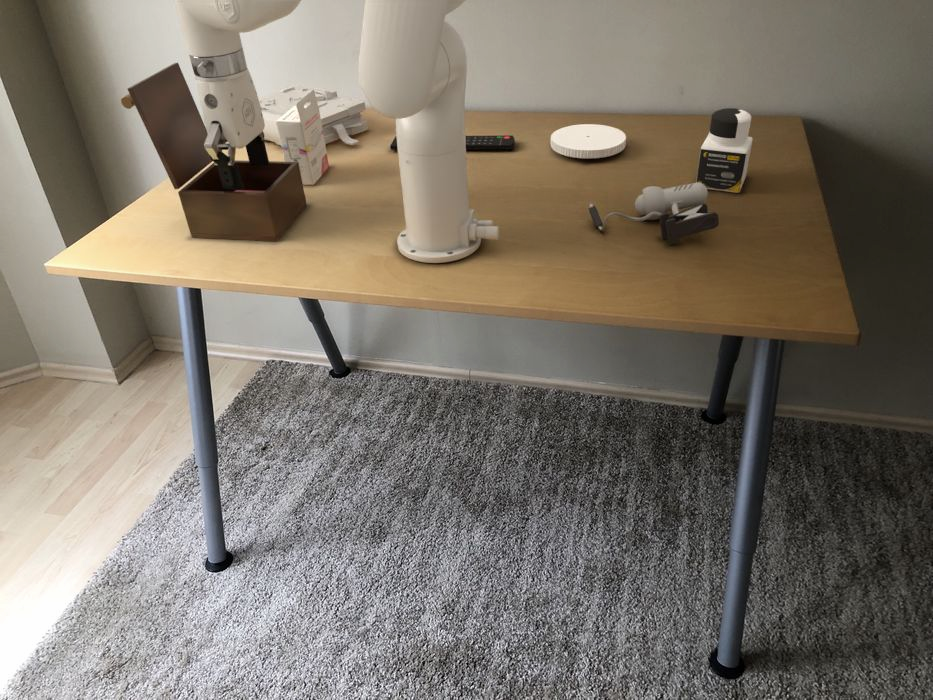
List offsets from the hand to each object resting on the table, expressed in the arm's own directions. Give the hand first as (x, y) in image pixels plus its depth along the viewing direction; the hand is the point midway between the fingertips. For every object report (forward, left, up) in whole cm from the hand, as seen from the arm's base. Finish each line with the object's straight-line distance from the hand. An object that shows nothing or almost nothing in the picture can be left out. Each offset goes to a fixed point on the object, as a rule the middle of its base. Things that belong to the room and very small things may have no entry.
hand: (247, 176), depth 115 cm
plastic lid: (-52, -35, -8) cm, 63 cm away
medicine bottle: (-75, -21, -8) cm, 78 cm away
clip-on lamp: (-63, -3, -8) cm, 63 cm away
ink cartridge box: (-2, -19, -8) cm, 21 cm away
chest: (+1, 0, -8) cm, 8 cm away
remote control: (-26, -35, -8) cm, 44 cm away
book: (+6, -40, -8) cm, 41 cm away
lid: (+9, 0, +8) cm, 12 cm away
